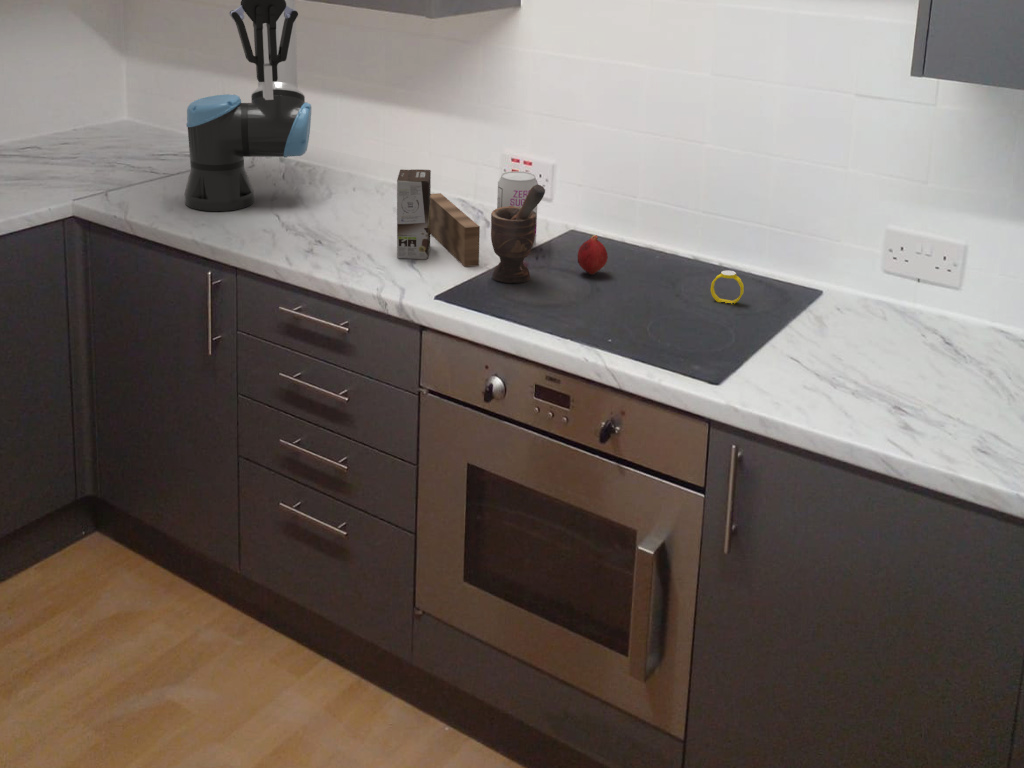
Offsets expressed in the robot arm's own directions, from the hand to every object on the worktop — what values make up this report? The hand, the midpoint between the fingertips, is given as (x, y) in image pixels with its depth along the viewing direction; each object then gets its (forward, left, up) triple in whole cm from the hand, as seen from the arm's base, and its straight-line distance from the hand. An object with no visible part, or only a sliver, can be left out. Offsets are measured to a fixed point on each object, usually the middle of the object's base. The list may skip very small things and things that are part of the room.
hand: (268, 98), depth 240 cm
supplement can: (+17, +47, -29) cm, 58 cm away
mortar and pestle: (+36, +40, -29) cm, 61 cm away
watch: (+58, +73, -30) cm, 97 cm away
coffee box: (+15, +25, -30) cm, 42 cm away
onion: (+37, +55, -29) cm, 72 cm away
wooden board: (+14, +34, -29) cm, 47 cm away
